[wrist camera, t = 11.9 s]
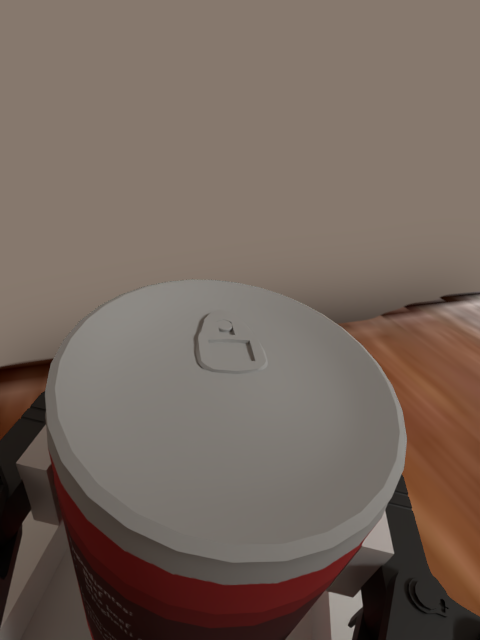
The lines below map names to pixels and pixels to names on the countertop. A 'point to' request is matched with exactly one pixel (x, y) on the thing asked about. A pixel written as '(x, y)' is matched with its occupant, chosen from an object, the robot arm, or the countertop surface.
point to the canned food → (215, 459)
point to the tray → (67, 608)
